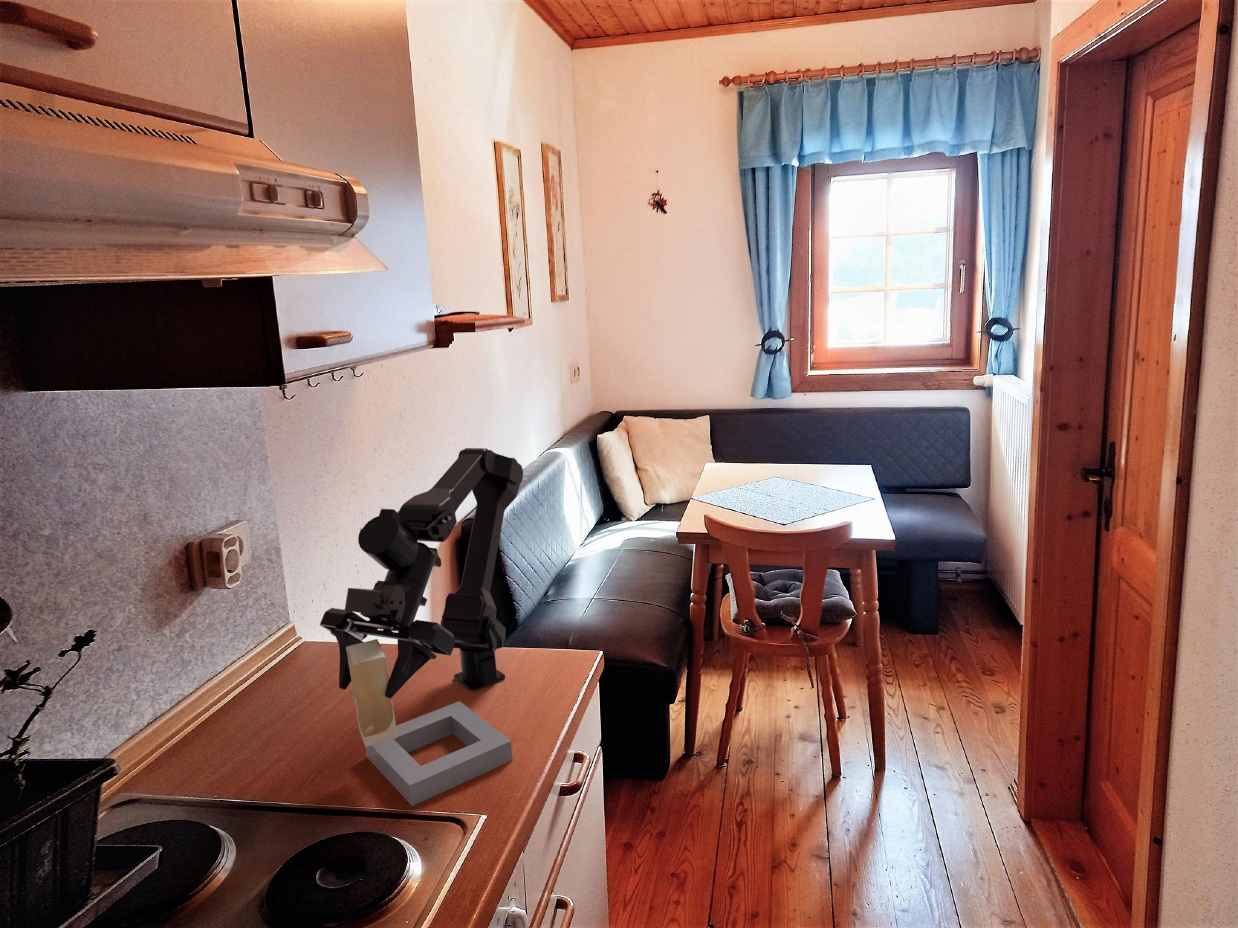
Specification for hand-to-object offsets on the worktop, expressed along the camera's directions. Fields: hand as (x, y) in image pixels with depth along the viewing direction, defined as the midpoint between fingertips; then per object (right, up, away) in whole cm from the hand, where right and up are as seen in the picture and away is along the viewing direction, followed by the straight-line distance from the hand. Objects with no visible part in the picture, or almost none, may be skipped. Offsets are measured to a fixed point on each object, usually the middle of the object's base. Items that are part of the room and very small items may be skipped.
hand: (364, 692), depth 110 cm
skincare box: (+1, -6, +3) cm, 7 cm away
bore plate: (+8, -11, +7) cm, 16 cm away
